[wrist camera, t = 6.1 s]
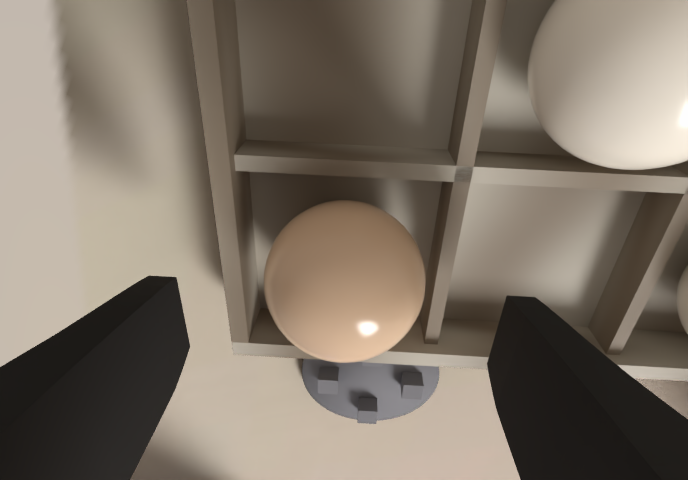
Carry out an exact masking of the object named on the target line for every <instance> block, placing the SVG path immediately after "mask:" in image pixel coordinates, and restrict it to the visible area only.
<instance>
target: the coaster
mask: <svg viewBox="0 0 688 480" xmlns="http://www.w3.org/2000/svg"><path fill="white" fill-rule="evenodd" d="M302 377H303V381H304V385H305V387H306V389H307V391H308V392H309V394H310V395H311V396H312V397H313V398H314V399H315V401H317V402H318V403H319V404H320V405H321V406H323V407H324V408H326V409H327V410H329V411H331V412H333V413H336V414H338V415H341V416H344V417H347V418H351V419H357V420H358V423H369V424H376V421H377V420H387V419H392V418H396V417H400V416H402V415H405V414H408V413H410V412H412V411H414V410H415V409H417V408H419V407H420V406H421V405H423V404H424V403H425V402H426V401H427V400H428V399H429V398H430V397H431V395H432V394H433V392H434V391H435V389H436V387H437V383H438V380H439V367H436V366H419V365H402V364H385V363H368V362H352V363H338V362H330V361H325V360H318V359H304V360H303V366H302Z"/></svg>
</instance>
